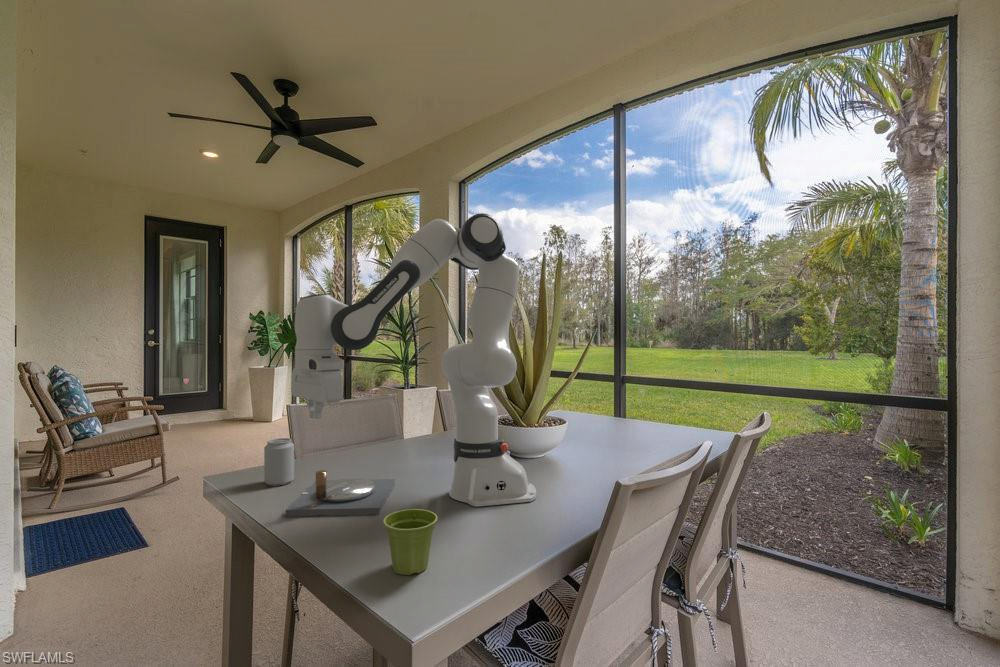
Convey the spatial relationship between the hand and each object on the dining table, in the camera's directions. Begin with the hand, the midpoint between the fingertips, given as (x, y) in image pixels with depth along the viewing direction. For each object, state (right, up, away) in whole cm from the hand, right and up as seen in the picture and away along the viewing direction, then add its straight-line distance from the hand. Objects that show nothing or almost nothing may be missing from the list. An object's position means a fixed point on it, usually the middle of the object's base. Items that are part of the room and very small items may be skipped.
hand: (315, 418), depth 111 cm
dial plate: (+6, -21, +4) cm, 22 cm away
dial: (+5, -19, +3) cm, 20 cm away
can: (-17, -21, +17) cm, 32 cm away
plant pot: (+29, -21, -29) cm, 46 cm away
